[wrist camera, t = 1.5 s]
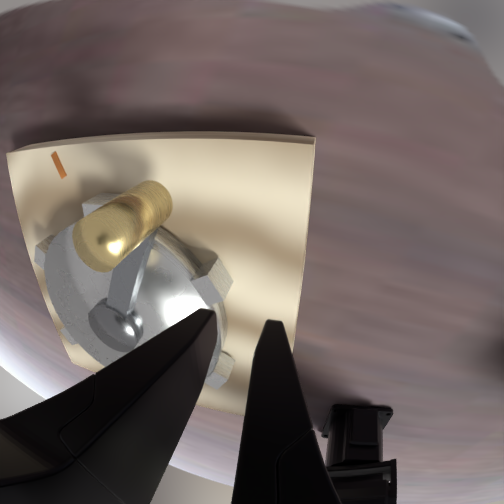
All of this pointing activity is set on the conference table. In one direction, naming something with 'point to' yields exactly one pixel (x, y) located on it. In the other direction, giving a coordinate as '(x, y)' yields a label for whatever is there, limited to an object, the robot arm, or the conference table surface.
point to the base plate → (190, 219)
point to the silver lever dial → (130, 277)
